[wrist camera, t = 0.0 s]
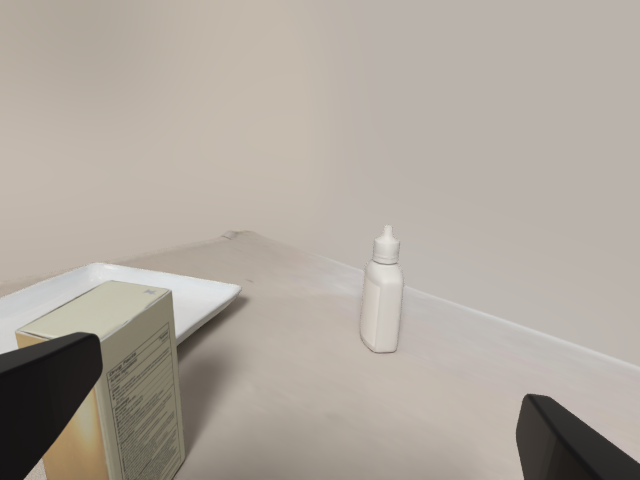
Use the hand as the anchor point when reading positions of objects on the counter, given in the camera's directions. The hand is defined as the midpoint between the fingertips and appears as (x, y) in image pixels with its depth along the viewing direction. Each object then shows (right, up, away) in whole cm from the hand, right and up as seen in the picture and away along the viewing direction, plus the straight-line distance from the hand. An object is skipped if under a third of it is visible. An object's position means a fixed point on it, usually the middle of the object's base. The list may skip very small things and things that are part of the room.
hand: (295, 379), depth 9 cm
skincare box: (-11, -12, +16) cm, 23 cm away
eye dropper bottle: (+6, -7, +34) cm, 35 cm away
